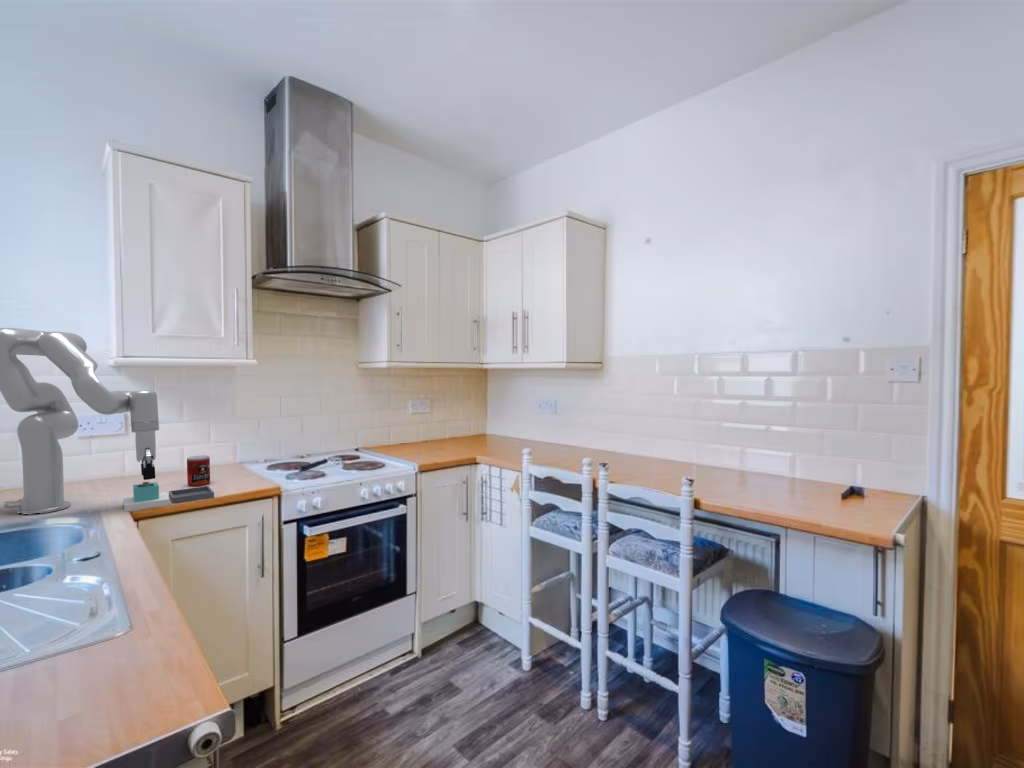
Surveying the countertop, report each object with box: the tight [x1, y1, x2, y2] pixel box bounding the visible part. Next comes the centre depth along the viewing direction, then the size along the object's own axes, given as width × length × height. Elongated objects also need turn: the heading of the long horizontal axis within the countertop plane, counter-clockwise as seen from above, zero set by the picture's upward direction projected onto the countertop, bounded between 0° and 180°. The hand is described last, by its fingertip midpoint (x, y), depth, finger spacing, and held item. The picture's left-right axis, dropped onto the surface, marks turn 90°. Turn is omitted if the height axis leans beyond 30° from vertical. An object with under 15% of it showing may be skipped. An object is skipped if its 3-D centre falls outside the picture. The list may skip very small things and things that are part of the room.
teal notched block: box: [132, 481, 160, 502], centre depth 166 cm, size 7×7×4 cm
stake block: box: [122, 481, 171, 512], centre depth 166 cm, size 12×12×8 cm
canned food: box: [186, 454, 211, 488], centre depth 194 cm, size 8×8×11 cm
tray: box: [168, 485, 215, 505], centre depth 175 cm, size 12×12×2 cm
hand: (148, 476), depth 166 cm, fingers open, 9 cm apart
